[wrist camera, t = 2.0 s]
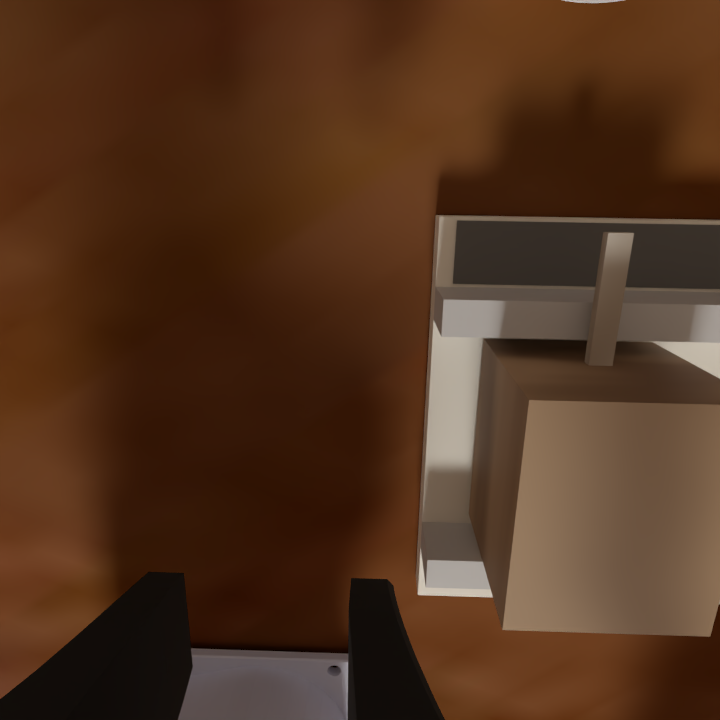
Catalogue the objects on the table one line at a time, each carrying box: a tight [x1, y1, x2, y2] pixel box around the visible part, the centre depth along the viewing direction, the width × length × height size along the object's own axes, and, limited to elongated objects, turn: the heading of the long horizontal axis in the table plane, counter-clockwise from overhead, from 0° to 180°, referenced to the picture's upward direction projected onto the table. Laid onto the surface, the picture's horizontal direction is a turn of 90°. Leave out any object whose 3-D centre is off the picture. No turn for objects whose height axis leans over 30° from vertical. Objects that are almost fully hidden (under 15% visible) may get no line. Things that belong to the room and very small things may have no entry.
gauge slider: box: [469, 232, 720, 637], centre depth 14 cm, size 5×9×5 cm, turn 179°
